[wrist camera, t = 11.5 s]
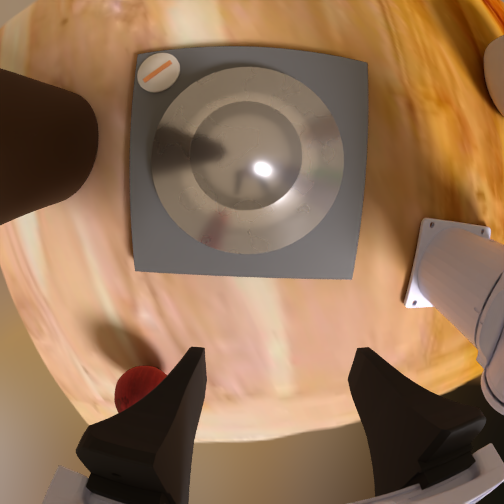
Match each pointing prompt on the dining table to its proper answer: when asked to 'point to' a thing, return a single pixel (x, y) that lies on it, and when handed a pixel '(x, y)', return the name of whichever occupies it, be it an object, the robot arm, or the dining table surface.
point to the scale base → (263, 264)
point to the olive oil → (42, 144)
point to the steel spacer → (246, 155)
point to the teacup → (495, 72)
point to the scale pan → (259, 220)
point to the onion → (136, 385)
